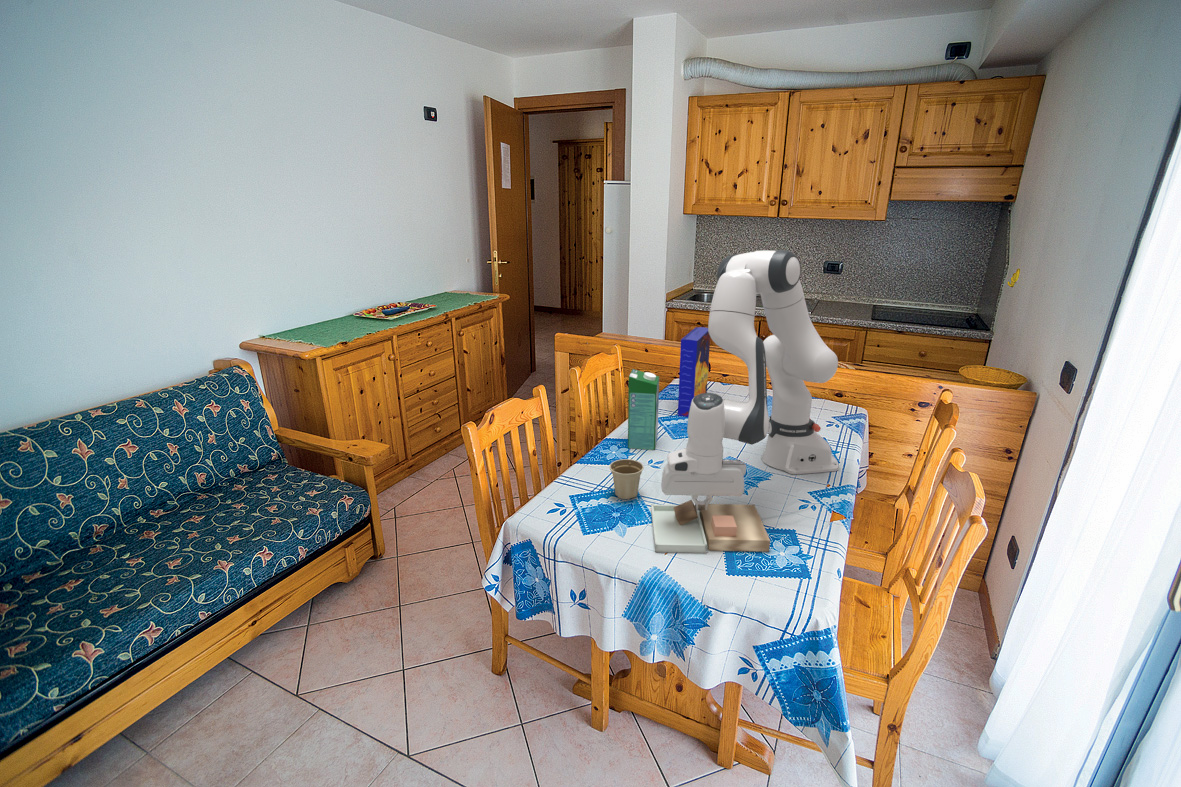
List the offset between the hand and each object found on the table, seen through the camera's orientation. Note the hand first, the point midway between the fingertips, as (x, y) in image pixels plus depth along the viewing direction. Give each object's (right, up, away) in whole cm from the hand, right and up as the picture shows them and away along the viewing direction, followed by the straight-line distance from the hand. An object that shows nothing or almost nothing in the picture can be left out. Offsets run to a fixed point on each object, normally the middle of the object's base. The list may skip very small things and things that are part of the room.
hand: (700, 508), depth 141 cm
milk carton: (-10, +12, +47) cm, 50 cm away
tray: (-6, -5, -2) cm, 8 cm away
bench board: (+7, -5, -3) cm, 9 cm away
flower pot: (-18, +1, +16) cm, 24 cm away
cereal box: (+12, +24, +79) cm, 84 cm away
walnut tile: (-3, -2, +1) cm, 4 cm away
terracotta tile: (+4, -4, -7) cm, 9 cm away
